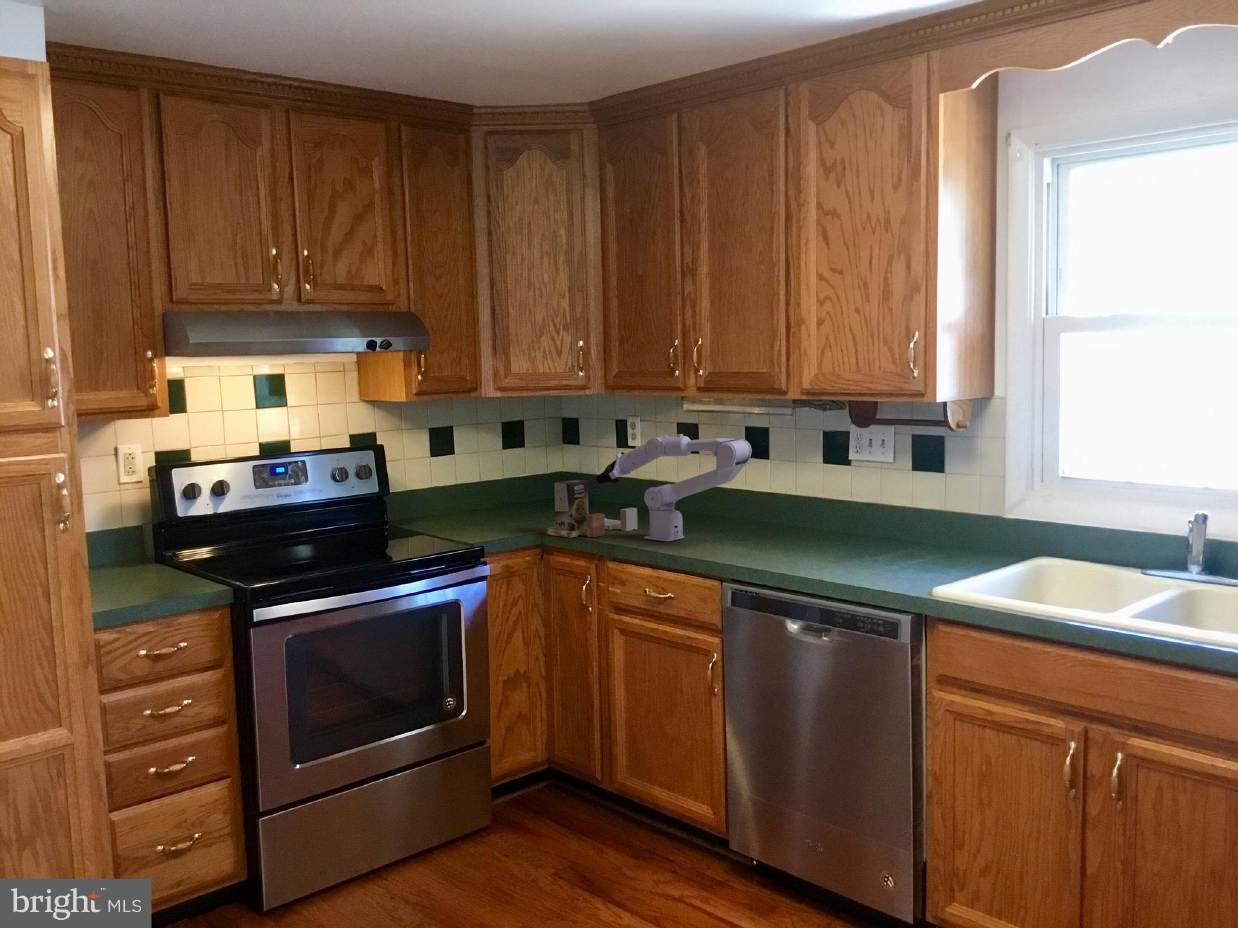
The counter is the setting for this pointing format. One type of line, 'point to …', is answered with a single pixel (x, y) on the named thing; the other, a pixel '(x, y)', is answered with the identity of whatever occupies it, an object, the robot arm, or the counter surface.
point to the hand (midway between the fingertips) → (603, 475)
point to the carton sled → (593, 529)
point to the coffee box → (571, 505)
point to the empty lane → (623, 520)
